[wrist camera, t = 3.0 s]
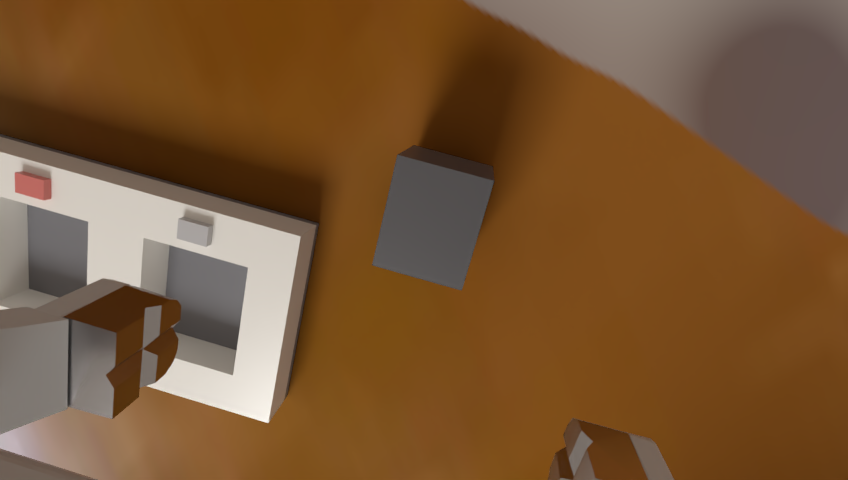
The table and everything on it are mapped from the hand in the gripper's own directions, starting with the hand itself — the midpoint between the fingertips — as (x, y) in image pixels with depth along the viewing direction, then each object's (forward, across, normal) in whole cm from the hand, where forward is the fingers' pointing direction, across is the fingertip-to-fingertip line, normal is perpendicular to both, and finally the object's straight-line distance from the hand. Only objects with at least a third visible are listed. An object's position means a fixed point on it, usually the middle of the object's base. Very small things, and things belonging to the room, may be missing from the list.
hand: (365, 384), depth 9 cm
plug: (+19, 0, 0) cm, 19 cm away
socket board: (+19, +18, +10) cm, 28 cm away
